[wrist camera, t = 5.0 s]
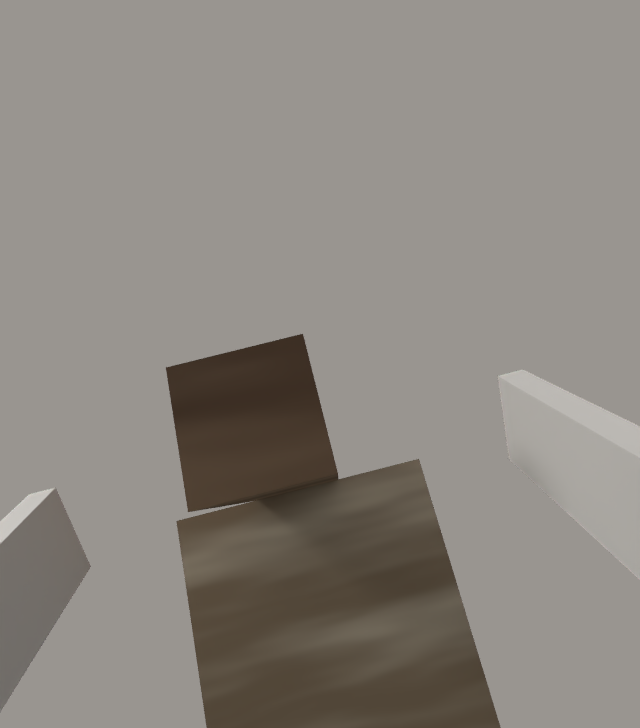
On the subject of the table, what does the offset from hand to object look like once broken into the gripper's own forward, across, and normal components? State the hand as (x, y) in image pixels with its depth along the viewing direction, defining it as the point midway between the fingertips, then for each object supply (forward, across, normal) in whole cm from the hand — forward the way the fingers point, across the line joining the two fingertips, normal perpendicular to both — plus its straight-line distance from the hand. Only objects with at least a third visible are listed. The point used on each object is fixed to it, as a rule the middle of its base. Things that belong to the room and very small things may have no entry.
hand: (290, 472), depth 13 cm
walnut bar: (+10, -1, -6) cm, 12 cm away
